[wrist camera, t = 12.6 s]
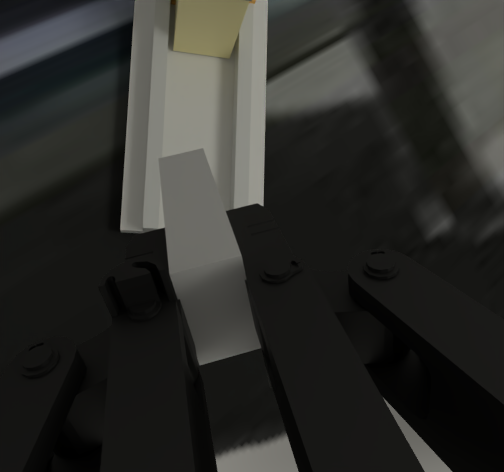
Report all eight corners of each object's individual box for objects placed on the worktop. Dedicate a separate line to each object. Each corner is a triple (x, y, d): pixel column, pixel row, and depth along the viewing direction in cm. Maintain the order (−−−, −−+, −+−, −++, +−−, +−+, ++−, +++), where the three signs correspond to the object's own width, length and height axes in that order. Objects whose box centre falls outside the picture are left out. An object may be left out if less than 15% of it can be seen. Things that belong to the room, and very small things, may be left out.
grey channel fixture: (121, 232, 37) (111, 210, 27) (140, -69, 41) (137, -187, 31) (258, 239, 40) (296, 222, 30) (265, -43, 43) (300, -145, 33)
